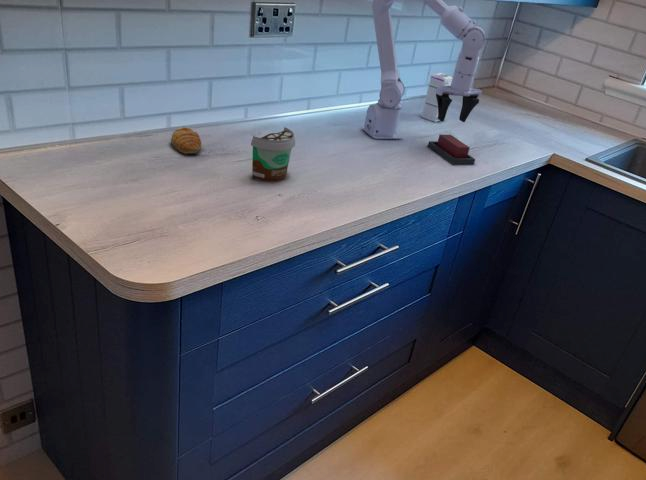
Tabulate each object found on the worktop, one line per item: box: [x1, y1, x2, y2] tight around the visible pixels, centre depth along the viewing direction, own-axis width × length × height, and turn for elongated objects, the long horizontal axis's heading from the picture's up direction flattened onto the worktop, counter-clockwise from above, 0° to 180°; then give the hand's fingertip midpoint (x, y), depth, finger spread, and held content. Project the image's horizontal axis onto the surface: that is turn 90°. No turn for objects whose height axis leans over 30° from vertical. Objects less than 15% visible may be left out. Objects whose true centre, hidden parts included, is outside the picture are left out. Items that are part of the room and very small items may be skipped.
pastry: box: [170, 126, 202, 155], centre depth 142 cm, size 9×7×4 cm
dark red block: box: [437, 133, 471, 158], centre depth 173 cm, size 4×10×4 cm, turn 26°
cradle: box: [427, 140, 476, 166], centre depth 174 cm, size 8×14×2 cm, turn 26°
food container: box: [250, 126, 296, 183], centre depth 135 cm, size 12×6×10 cm, turn 148°
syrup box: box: [421, 72, 453, 123], centre depth 199 cm, size 6×6×14 cm
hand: (451, 120), depth 173 cm, fingers open, 7 cm apart
